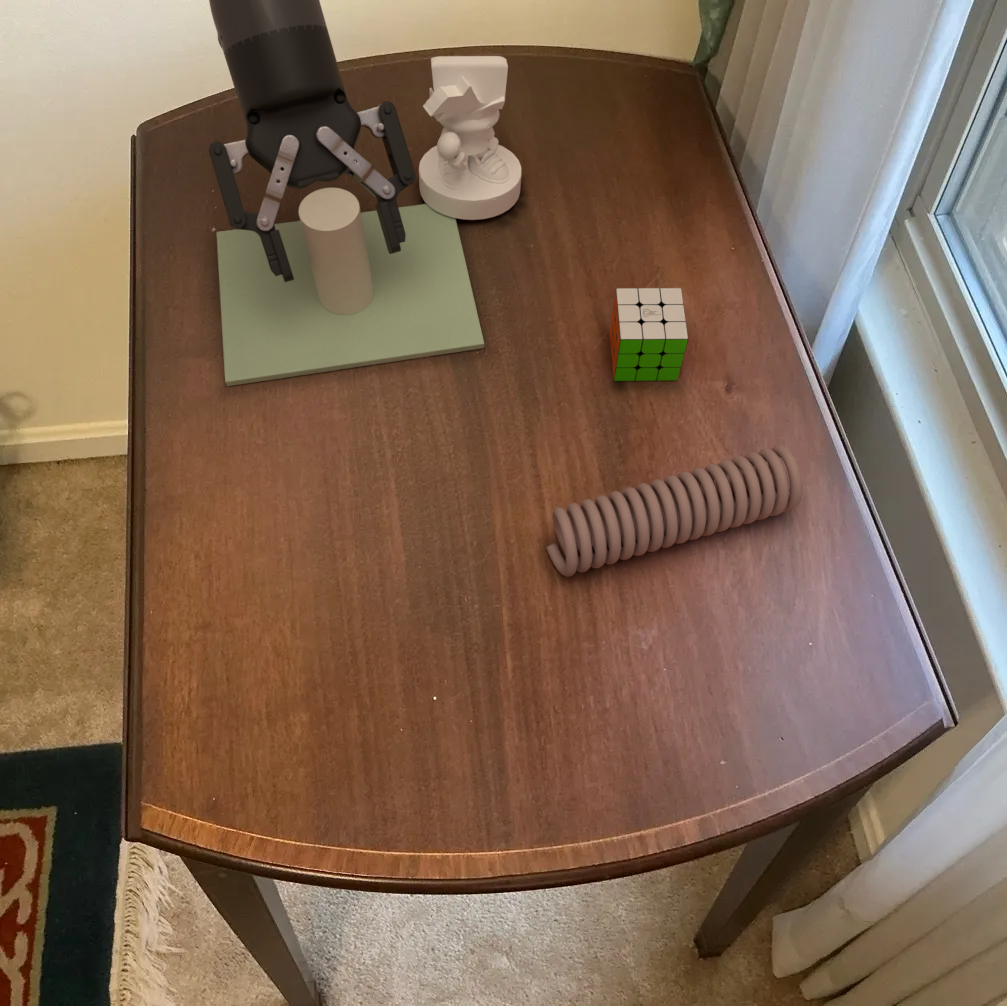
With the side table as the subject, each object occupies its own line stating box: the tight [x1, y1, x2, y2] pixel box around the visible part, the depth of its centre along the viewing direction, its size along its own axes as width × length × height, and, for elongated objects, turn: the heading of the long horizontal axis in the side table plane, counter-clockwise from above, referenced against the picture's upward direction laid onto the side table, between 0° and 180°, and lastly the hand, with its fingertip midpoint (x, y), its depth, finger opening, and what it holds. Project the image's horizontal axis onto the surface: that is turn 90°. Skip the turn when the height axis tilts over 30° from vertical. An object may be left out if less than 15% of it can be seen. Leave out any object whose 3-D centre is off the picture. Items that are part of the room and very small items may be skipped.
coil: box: [545, 444, 803, 578], centre depth 65 cm, size 5×5×18 cm
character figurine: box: [418, 55, 522, 221], centre depth 79 cm, size 9×10×12 cm
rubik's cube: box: [609, 287, 689, 382], centre depth 73 cm, size 5×5×5 cm
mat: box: [216, 203, 485, 387], centre depth 78 cm, size 20×16×1 cm
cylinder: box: [298, 187, 374, 315], centre depth 73 cm, size 4×4×9 cm
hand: (343, 266), depth 73 cm, fingers open, 8 cm apart
